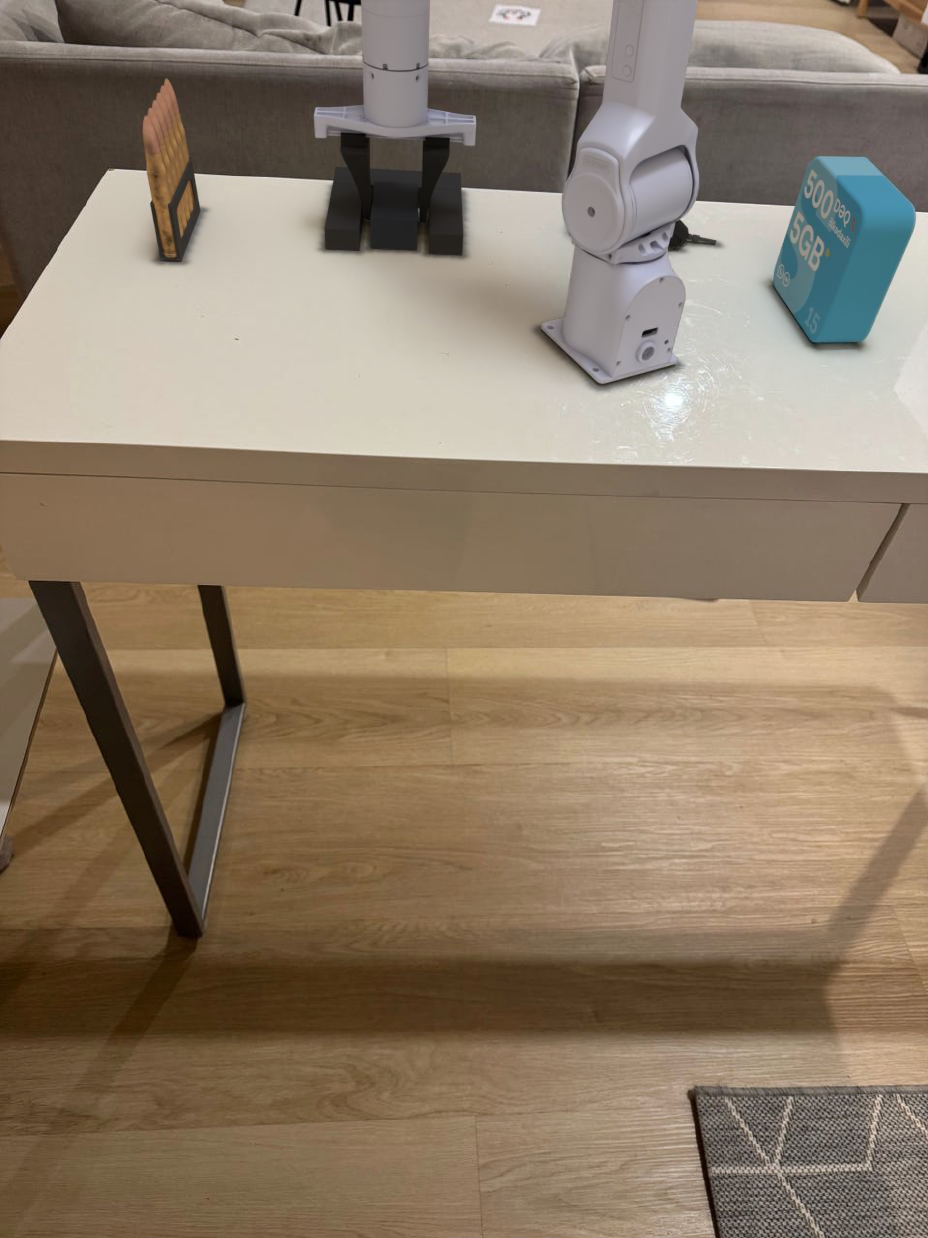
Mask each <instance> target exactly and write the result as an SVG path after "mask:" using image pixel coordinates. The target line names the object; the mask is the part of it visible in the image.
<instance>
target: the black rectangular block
mask: <svg viewBox="0 0 928 1238" xmlns="http://www.w3.org/2000/svg"><path fill="white" fill-rule="evenodd" d="M418 186H419V184H418V183H399V182H378V181H374V188H373V197H372V206H371V216H370V220H369V223H370V225H369V227H370V249H376V250H377V249H379V250H399V251H417V250H418V231H419V230H418V229H419V228H418V227H419V226H418V225H419V224H418V223H419V207H418Z"/></svg>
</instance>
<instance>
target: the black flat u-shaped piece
mask: <svg viewBox="0 0 928 1238" xmlns="http://www.w3.org/2000/svg"><path fill="white" fill-rule="evenodd" d="M370 179H371V190H372V197H373V188H374V181H378V182H399V183H418V184H419V186H418V208H419V203H420V193H421V183H422V170H406V169H385V168H370ZM462 191H463V190H462V173H461V172H448V171H447V172H446V171H445V172H444V171H442V173H441V175H440V177H439V179H438V181H437V184H436V186H435V189H434V191H433V194H432V197H431V200H430V204H429V208H428V212H429V213H428V215H429V216H428V220H429V221H428V253H429V254H431V255H451V256H452V255H454V256H463V253H464V252H463V251H464V249H463V248H464V219H463V217H464V215H463V195H462V194H463V193H462ZM363 224H364V213H363V208H362V203H361V200H360V196H359V193H358V190H357V187H356V185H355V182H354V180H353V177H352V175H351V173H350V171H349V169H348V167H347V166H335V170H334V174H333V179H332V185H331V191H330V196H329V202H328V208H327V213H326V218H325V225H324V244H325V250H336V251H337V250H340V251H357V252H358V251H360V249H361V243H362V242H361V241H362V232H363Z"/></svg>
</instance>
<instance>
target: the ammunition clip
mask: <svg viewBox="0 0 928 1238" xmlns="http://www.w3.org/2000/svg"><path fill="white" fill-rule="evenodd" d="M176 96H177V95H176V93H175V90H174V88H173V85H172V84H171V81H170V80H169V78H164V82H163V85H161V87H160V89H159V92H157V93H156V97H155V99H153V100H152V104H151V107H149V108H148V111H147V115H144V117H143V121H142V141H143V147H144V154H145V160H146V161H145V162H146V175H147V181H148V185H149V191H150V196H151V200H150V203H149V206H150V211H151V217H152V221H153V227H154V233H155V237H156V244H157V248H158V255H159V259H160V261H163V262H164V261H166V262H182V260H183V258H184V256H185V253H186V251H187V248H188V245H189V243H190V239H191V237H192V235H193V232H194V229H195V226H196V224H197V222H198V219H199V217H200V213H201V206H200V205H201V204H200V200H199V194H198V188H197V183H196V182H197V181H196V175H195V170H194V165H193V164H194V163H193V157H190V155H189V148H188V143H187V142H188V141H187V138H186V137H187V136H186V132H185V128H184V126H183V121H182V119H181V118H182V117H181V113H180V109H179V104H178V100H177V97H176Z"/></svg>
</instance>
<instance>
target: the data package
mask: <svg viewBox="0 0 928 1238" xmlns="http://www.w3.org/2000/svg"><path fill="white" fill-rule="evenodd" d="M797 195H798V196H797V198H796V202H795V204H794V207H793V210H792V214H791V216H790V220H789V222H788V226H787V228H786V232H785V236H784V239H783V242H782V245H781V247H780V251H779V253H778V256H777V260H776V263H775V266H774V270H773V285H774V288H775V290H776V291H777V294H779V296H780V298H781V299H782V301H783V302H784V304H785V305H786V306H787V308H788V309H789V311H790V312H791V314H792V315H793V317H794V319H795V320H796V322H797V323H798V324H799V326H800V327H801V329H802V330H803V332H804V333H805V335H806V336H807V338H808V340H809V341H811V342H812V343H860V342H863V341H865V340H866V339H867V337H868V336H869V335H870V333H871V331H872V328H873V327H874V323H875V321H876V319H877V317H878V314H879V312H880V310H881V307H882V305H883V303H884V301H885V298H886V296H887V294H888V291H889V289H890V286H891V285H892V282H893V279H894V277H895V276H896V273H897V270H898V268H899V266H900V264H901V261H902V259H903V257H904V254H905V252H906V249H907V248H908V245H909V243H910V240H911V238H912V236H913V233H914V231H915V228H916V223H917V214H916V213H917V212H916V208H915V206H914V204H913V203H912V202H911V201H910V200H909V199H908V198H907V197H906V196H905V195H904V194H903V193H902V192H901V191H900V190H899V189H898V188H897V187H896V186H895V185H894V184H893V183H892V182H891V181H890V179H888V177H886V176H885V174H883V173H882V171H881V170H879V169H878V168H877V166H875V164H873V162H871V161H870V159H869V158H867V157H866V156H839V155H838V156H835V155H834V156H831V155H830V156H828V155H819V156H815V157H814V158H813V159H811V161H810V162H809V164H808V166H807V168H806V171H805V174H804V176H803V180H802V183H801V186H800V189H799V192H798V194H797Z"/></svg>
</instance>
